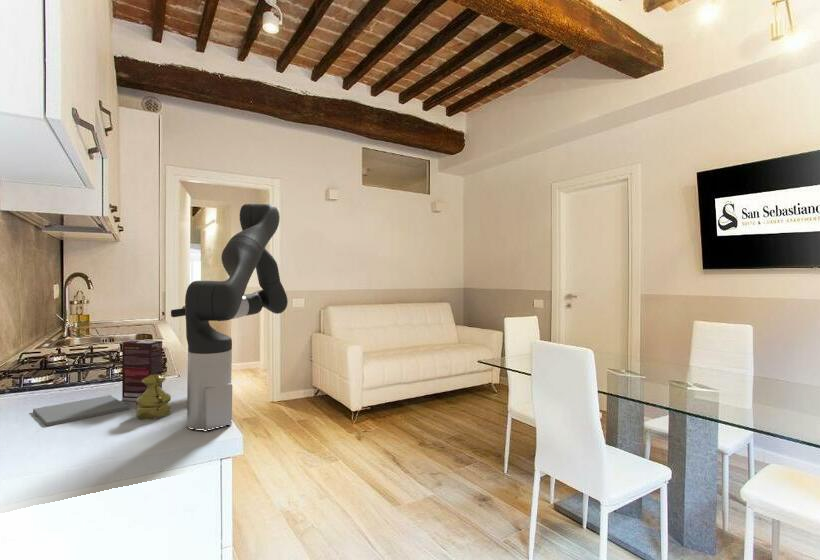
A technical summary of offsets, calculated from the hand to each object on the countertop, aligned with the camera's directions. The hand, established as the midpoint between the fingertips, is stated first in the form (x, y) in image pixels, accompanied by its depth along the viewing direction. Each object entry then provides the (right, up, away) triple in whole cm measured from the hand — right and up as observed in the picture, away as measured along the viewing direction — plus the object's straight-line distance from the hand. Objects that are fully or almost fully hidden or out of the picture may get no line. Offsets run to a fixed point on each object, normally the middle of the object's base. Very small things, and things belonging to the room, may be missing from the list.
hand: (178, 315), depth 123 cm
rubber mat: (-15, -22, -17) cm, 32 cm away
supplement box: (-6, -23, -7) cm, 24 cm away
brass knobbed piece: (+4, -23, -19) cm, 30 cm away
